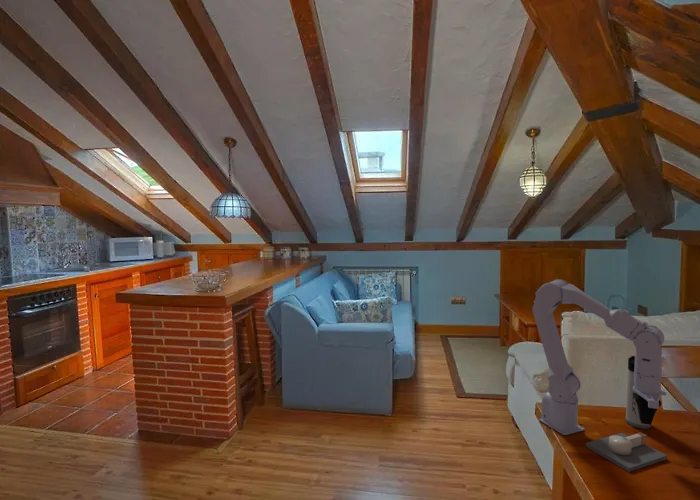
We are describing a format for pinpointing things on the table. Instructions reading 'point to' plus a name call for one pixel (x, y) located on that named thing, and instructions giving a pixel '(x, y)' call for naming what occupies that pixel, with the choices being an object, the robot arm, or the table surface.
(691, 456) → the table surface
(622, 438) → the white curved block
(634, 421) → the travel mug
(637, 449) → the flat gray base
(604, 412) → the table surface
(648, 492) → the table surface
